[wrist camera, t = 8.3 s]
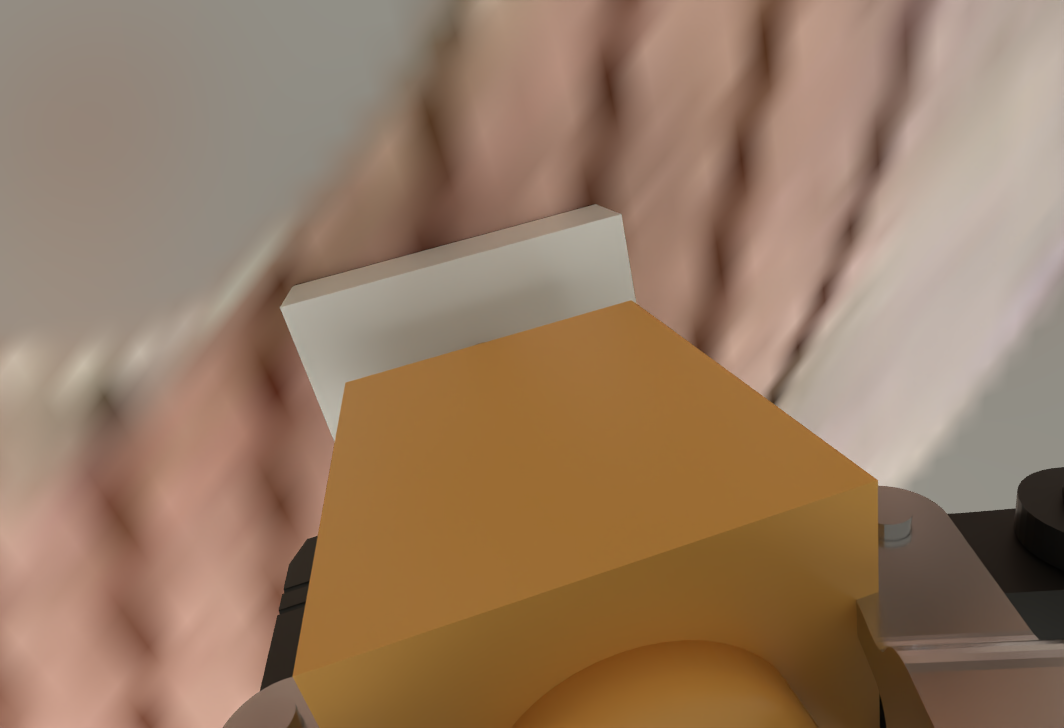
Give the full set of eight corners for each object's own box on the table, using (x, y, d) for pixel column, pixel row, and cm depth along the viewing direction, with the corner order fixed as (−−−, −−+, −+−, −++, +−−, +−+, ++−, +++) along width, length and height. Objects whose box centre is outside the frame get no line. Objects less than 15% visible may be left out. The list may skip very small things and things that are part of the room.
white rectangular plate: (446, 678, 21) (452, 731, 19) (292, 286, 16) (279, 307, 14) (668, 602, 22) (693, 645, 20) (595, 204, 17) (621, 214, 15)
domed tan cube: (431, 609, 12) (474, 1140, 6) (345, 382, 10) (269, 805, 4) (670, 529, 13) (950, 937, 6) (631, 300, 11) (977, 554, 4)
